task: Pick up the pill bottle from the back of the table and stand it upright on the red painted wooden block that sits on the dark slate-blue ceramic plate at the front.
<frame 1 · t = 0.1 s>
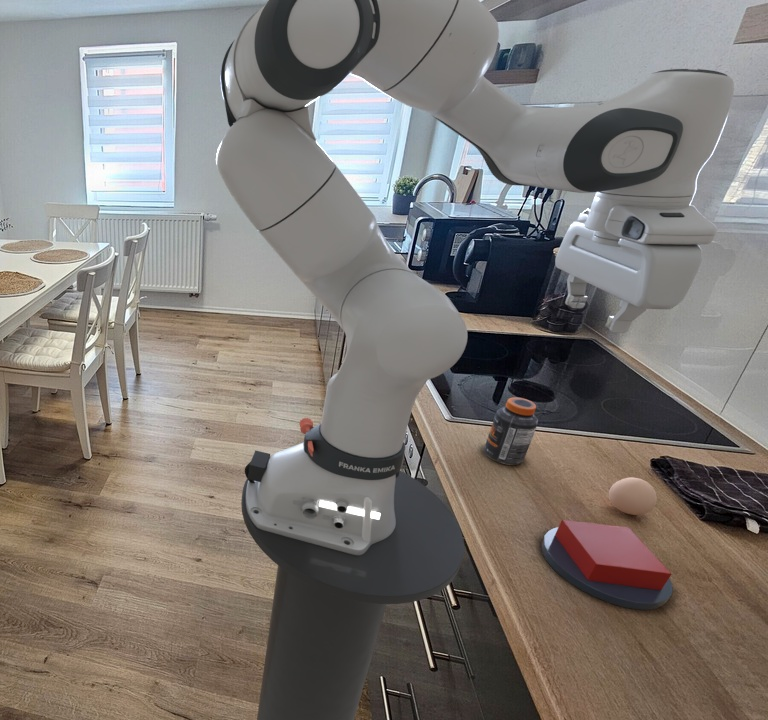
hand: (593, 318, 69), 30 cm above the worktop, tool pointing down, fingers open, 8 cm apart
red block: (604, 561, 67), resting on plate
plate: (601, 567, 67), on the worktop
egg: (624, 511, 77), on the worktop
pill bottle: (502, 456, 90), on the worktop
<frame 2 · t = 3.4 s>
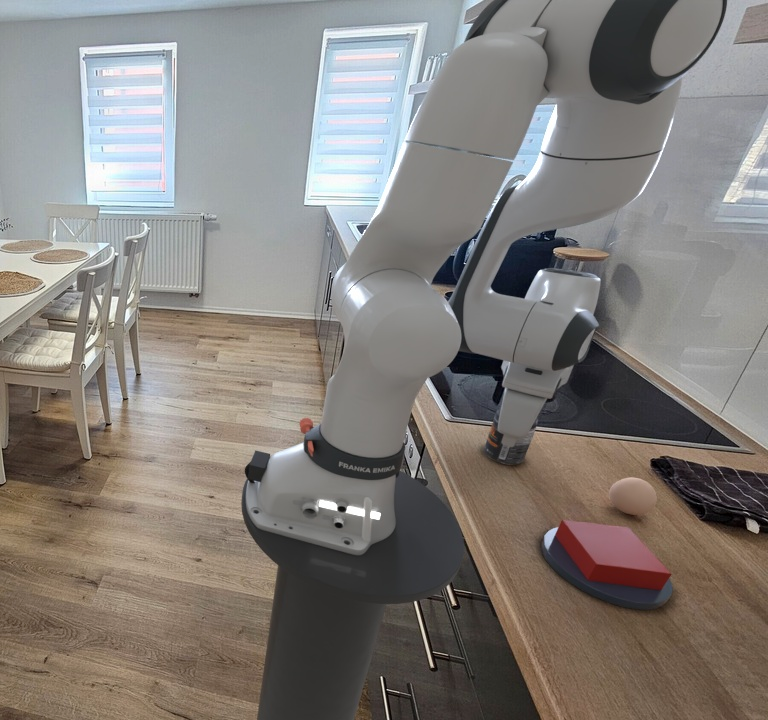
hand: (511, 435, 88), 5 cm above the worktop, tool pointing down, fingers closed on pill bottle, 6 cm apart
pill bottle: (502, 456, 90), on the worktop, touching gripper
everything else where it was.
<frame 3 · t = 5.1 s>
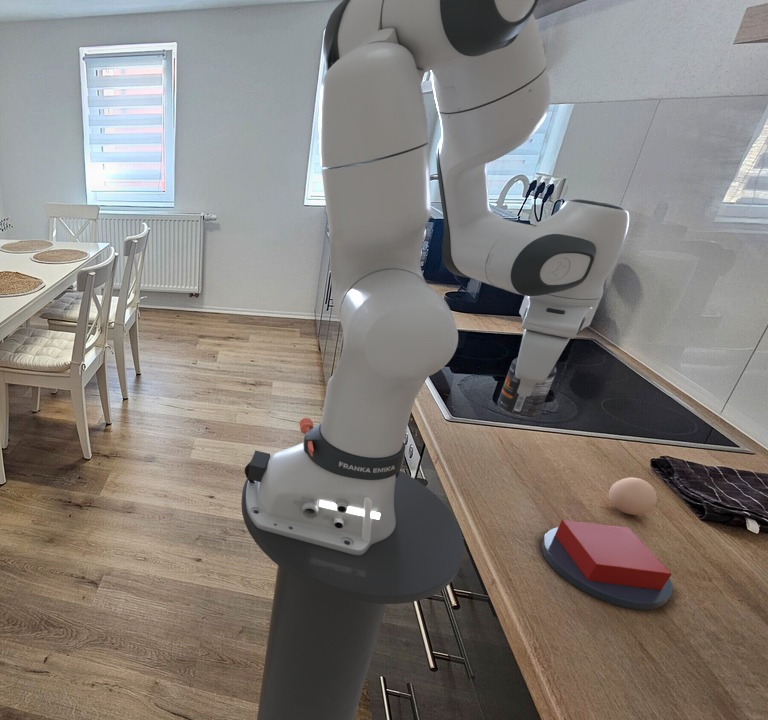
hand: (526, 385, 83), 15 cm above the worktop, tool pointing down, fingers closed on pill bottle, 6 cm apart
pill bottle: (516, 410, 85), point 10 cm above the worktop, touching gripper
everything else where it was.
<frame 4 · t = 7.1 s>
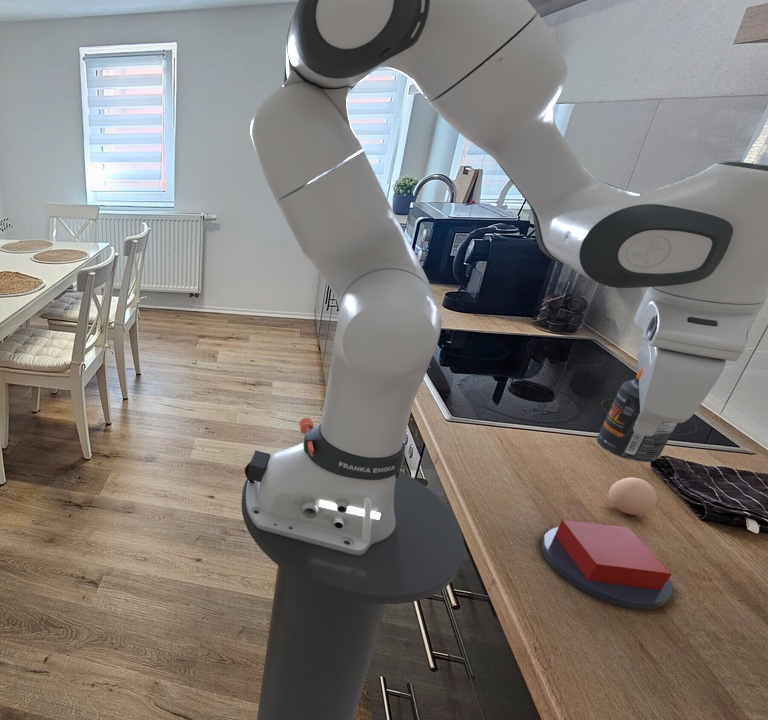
hand: (641, 419, 62), 21 cm above the worktop, tool pointing down, fingers closed on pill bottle, 6 cm apart
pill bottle: (625, 450, 64), point 16 cm above the worktop, touching gripper
everything else where it was.
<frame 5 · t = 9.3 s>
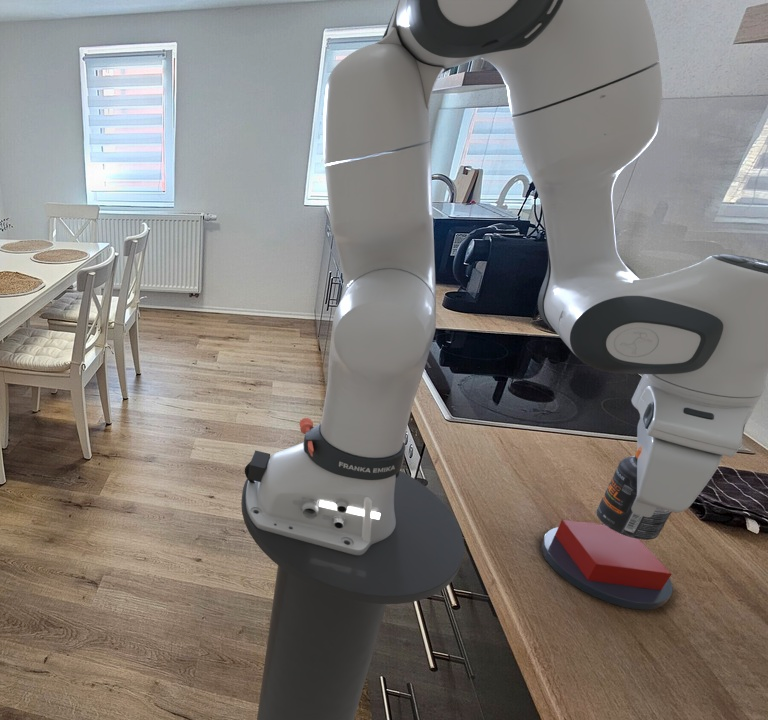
hand: (640, 496, 62), 12 cm above the worktop, tool pointing down, fingers closed on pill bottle, 6 cm apart
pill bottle: (624, 525, 64), point 8 cm above the worktop, touching gripper
everything else where it was.
when the fingers open (9 cm above the worktop, at t = 10.8 s): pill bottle stays where it is, resting on red block.
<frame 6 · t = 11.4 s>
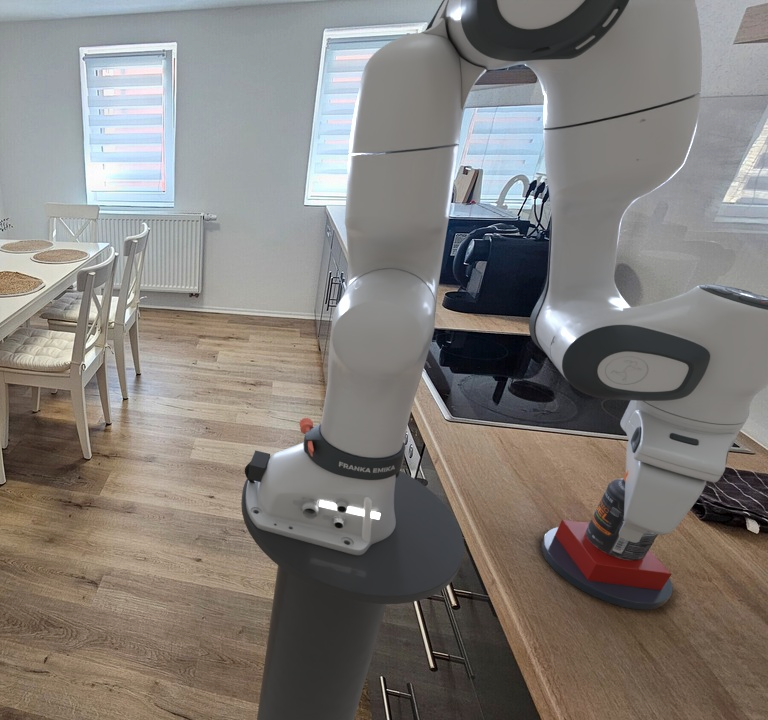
hand: (628, 516, 63), 9 cm above the worktop, tool pointing down, fingers open, 8 cm apart
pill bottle: (613, 545, 66), point 4 cm above the worktop, touching red block
everything else where it was.
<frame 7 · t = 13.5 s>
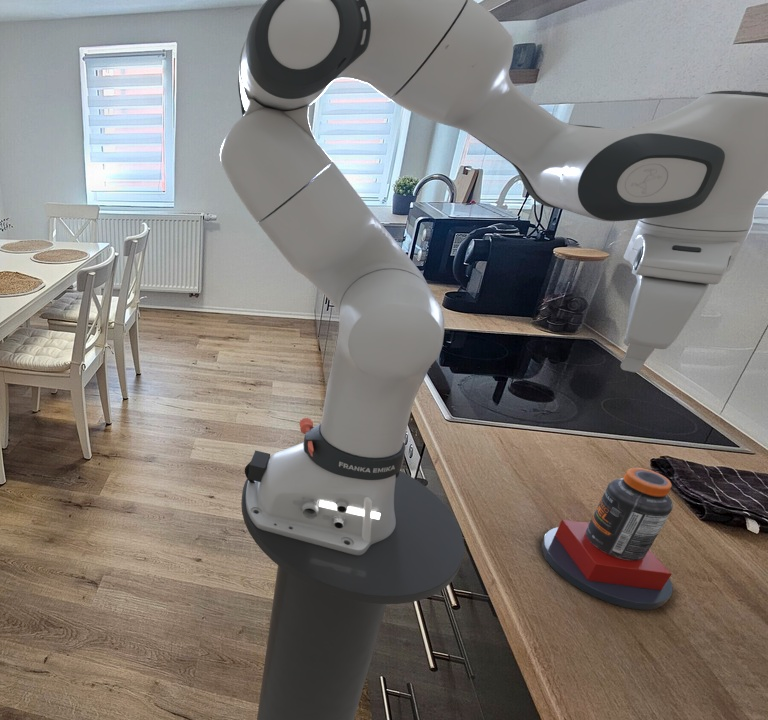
hand: (630, 356, 63), 28 cm above the worktop, tool pointing down, fingers open, 8 cm apart
nothing on the worktop moved.
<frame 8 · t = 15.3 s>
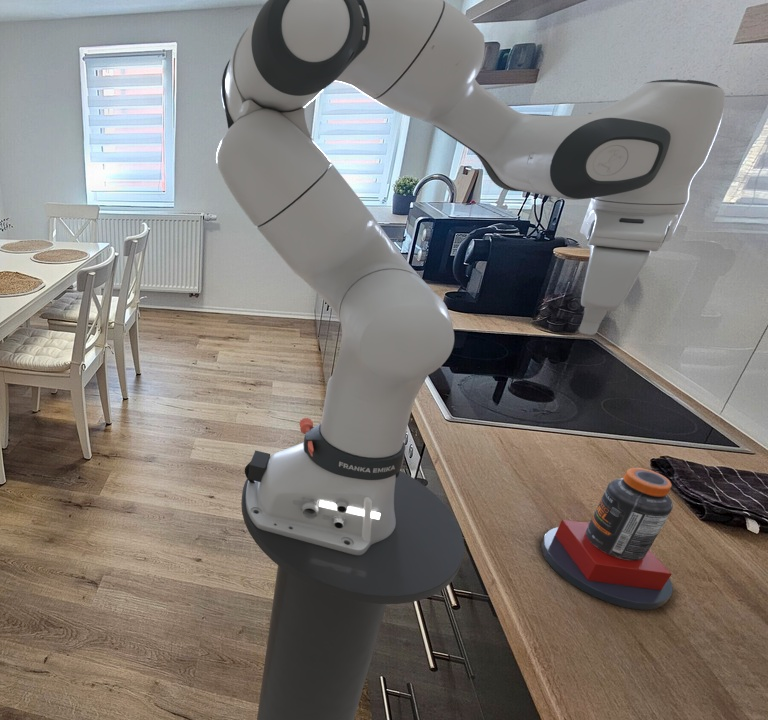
hand: (588, 322, 70), 29 cm above the worktop, tool pointing down, fingers open, 8 cm apart
nothing on the worktop moved.
at the end: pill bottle 0.1 cm off-centre on the red block, point 2.8 cm above the red block's base; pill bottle tilted 0°; the gripper is holding nothing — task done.
